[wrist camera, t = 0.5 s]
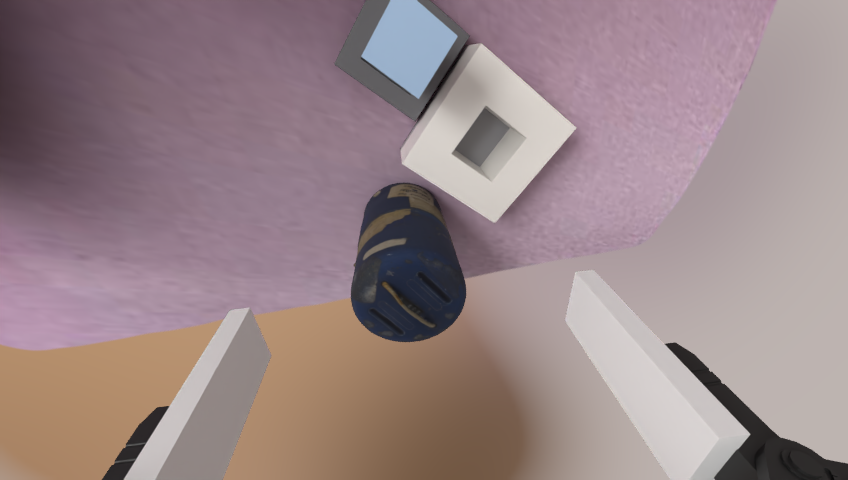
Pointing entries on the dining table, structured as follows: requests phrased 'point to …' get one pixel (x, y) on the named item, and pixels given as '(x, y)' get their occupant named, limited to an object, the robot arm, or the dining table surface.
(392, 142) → the dining table surface
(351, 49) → the gray recessed square plate
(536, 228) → the dining table surface
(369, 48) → the plug
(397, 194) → the canister
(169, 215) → the dining table surface
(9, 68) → the dining table surface
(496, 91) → the block
